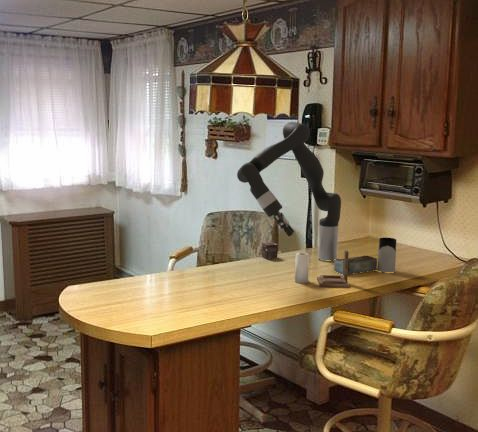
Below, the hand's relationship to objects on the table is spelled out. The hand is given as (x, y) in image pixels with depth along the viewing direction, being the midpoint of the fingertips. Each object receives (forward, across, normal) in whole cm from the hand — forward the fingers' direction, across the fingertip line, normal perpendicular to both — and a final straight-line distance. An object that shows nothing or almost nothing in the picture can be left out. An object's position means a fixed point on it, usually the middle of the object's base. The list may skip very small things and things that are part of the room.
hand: (291, 234), depth 249 cm
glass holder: (+40, +28, -22) cm, 53 cm away
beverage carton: (+32, +21, -11) cm, 40 cm away
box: (+5, +40, +21) cm, 45 cm away
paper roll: (+19, -1, +8) cm, 21 cm away
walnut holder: (+27, -1, -2) cm, 27 cm away
